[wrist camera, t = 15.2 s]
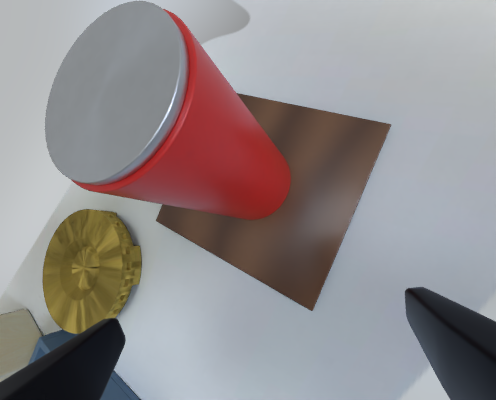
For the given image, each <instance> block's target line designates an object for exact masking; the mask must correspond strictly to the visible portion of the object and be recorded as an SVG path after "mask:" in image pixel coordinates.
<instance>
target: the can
mask: <svg viewBox="0 0 496 400" xmlns="http://www.w3.org/2000/svg"><path fill="white" fill-rule="evenodd" d="M45 134H46V142H47V148H48V151H49V154H50V157H51V159H52V161H53V163H54V164H55V166H56V167H57V169H58V170H59V171H60V172H61V173H62V174H63V175H65V176H66V177H68V178H69V179H71V180H72V181H73V182H74V183H76V184H77V185H79V186H80V187H82V188H84V189H86V190H89V191H93V192H99V193H104V194H110V195H115V196H121V197H126V198H132V199H137V200H142V201H148V202H153V203H159V204H164V205H170V206H175V207H181V208H186V209H192V210H197V211H202V212H208V213H213V214H219V215H224V216H230V217H235V218H241V219H246V220H257V219H261V218H264V217H267V216H269V215H270V214H272V213H273V212H275V211H276V210H277V209H278V208H279V207H280V206H281V205H282V203H283V202H284V200H285V199H286V197H287V194H288V192H289V188H290V183H291V175H290V169H289V166H288V164H287V162H286V160H285V158H284V157H283V155H282V154H281V153H280V151H279V150H278V149H277V147H276V146H275V145H274V143H273V142H272V141H271V139H270V138H269V137H268V135H267V134H266V133H265V131H264V130H263V128H262V127H261V126H260V124H259V123H258V122H257V120H256V119H255V118H254V116H253V115H252V114H251V112H250V111H249V110H248V108H247V107H246V106H245V104H244V103H243V102H242V100H241V99H240V98H239V96H238V95H237V93H236V92H235V91H234V89H233V88H232V87H231V85H230V84H229V83H228V81H227V80H226V79H225V77H224V76H223V75H222V73H221V72H220V71H219V69H218V68H217V67H216V65H215V64H214V62H213V61H212V60H211V58H210V57H209V56H208V54H207V53H206V52H205V50H204V49H203V48H202V46H201V45H200V44H199V42H198V41H197V40H196V38H195V37H194V36H193V34H192V33H191V32H190V30H189V29H188V28H187V26H186V25H185V24H184V22H183V21H182V20H181V19H180V18H178V17H177V16H176V15H175V14H173V13H171V12H169V11H167V10H165V9H162V8H161V7H159V6H157V5H155V4H153V3H149V2H146V1H133V2H128V3H124V4H121V5H119V6H117V7H114V8H112V9H111V10H109V11H107V12H105V13H104V14H103V15H101V16H100V17H99V18H97V19H96V20H95V21H94V22H93V23H92V24H90V26H88V27H87V28H86V30H85V31H84V32H83V33H82V34H81V35H80V36H79V38H78V39H77V40H76V42H75V43H74V44H73V46H72V47H71V49H70V50H69V52H68V53H67V55H66V57H65V58H64V60H63V62H62V64H61V66H60V68H59V70H58V72H57V75H56V77H55V79H54V82H53V85H52V89H51V92H50V96H49V99H48V104H47V110H46V118H45Z"/></svg>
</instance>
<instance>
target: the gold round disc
mask: <svg viewBox="0 0 496 400" xmlns="http://www.w3.org/2000/svg"><path fill="white" fill-rule="evenodd" d="M140 275H141V251H140V246H133V243H132V239H131V237H130V234H129V232H128V230H127V228H126V226H125V225H124V223H123V222H122V221H121V220H120V219H119V218H118V217H117V216H116V213H114V212H108V211H99V210H90V209H84V210H80V211H77V212H75V213H73V214H71V215H70V216H68V217H67V218H66V219H65V220H64V221H63V222H62V223H61V224H60V226H59V227H58V228H57V230H56V231H55V233H54V235H53V237H52V239H51V241H50V244H49V246H48V249H47V252H46V256H45V261H44V267H43V291H44V297H45V302H46V305H47V308H48V310H49V313H50V315H51V316H52V318H53V320H54V321H55V322H56V323H57V324H58V325H59V326H60V327H61V328H62V329H64V330H65V331H67V332H69V333H74V334H80V333H81V332H83V331H85V330H86V329H88V328H90V327H91V326H93V325H94V324H96V323H98V322H99V321H101V320H103V319H108V318H115V317H116V316H117V315H118V314H119V313H120V311H121V310H122V308H123V307H124V305H125V303H126V301H127V299H128V297H129V294H130V291H131V288H132V286H133V285H137V284H139V281H140Z"/></svg>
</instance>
